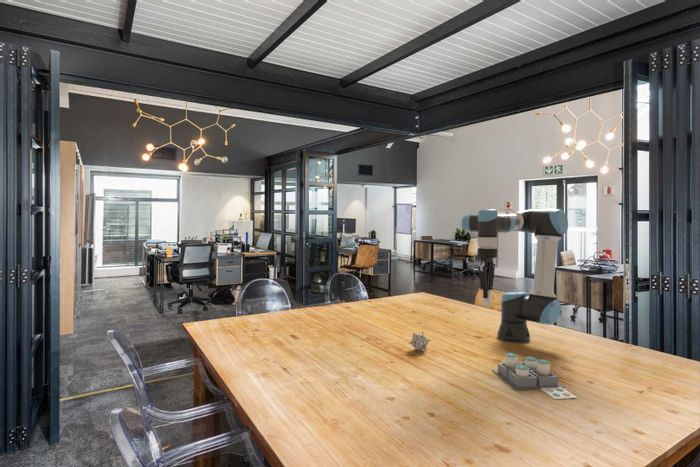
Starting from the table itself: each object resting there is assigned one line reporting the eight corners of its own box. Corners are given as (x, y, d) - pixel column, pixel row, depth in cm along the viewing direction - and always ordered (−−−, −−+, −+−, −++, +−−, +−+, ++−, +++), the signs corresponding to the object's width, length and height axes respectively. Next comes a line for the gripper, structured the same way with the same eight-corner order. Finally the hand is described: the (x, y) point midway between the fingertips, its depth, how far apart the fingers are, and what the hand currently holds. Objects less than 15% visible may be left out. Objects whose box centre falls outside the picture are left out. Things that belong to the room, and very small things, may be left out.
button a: (524, 377, 147) (524, 364, 147) (531, 382, 143) (531, 368, 143) (513, 377, 147) (513, 364, 147) (519, 382, 142) (519, 369, 142)
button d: (533, 368, 156) (533, 356, 156) (539, 372, 152) (539, 360, 151) (522, 368, 155) (522, 356, 155) (528, 373, 151) (528, 360, 151)
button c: (545, 371, 148) (545, 358, 148) (552, 376, 144) (552, 363, 143) (533, 372, 147) (534, 359, 147) (540, 376, 143) (541, 363, 143)
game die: (423, 359, 180) (429, 346, 174) (405, 351, 182) (411, 338, 176) (427, 345, 187) (433, 331, 181) (409, 337, 189) (416, 324, 183)
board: (535, 369, 159) (535, 360, 159) (564, 388, 141) (564, 378, 141) (492, 370, 157) (492, 361, 157) (515, 390, 139) (516, 380, 139)
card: (561, 388, 141) (561, 386, 141) (577, 398, 133) (577, 396, 133) (540, 389, 140) (540, 387, 140) (554, 399, 132) (554, 397, 132)
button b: (513, 364, 155) (513, 352, 155) (519, 368, 151) (519, 356, 150) (502, 365, 155) (502, 352, 154) (508, 369, 150) (508, 356, 150)
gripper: (484, 246, 169) (483, 302, 170) (471, 248, 159) (471, 307, 160) (502, 247, 164) (501, 304, 165) (490, 249, 154) (489, 310, 155)
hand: (486, 305), depth 162 cm, fingers closed
